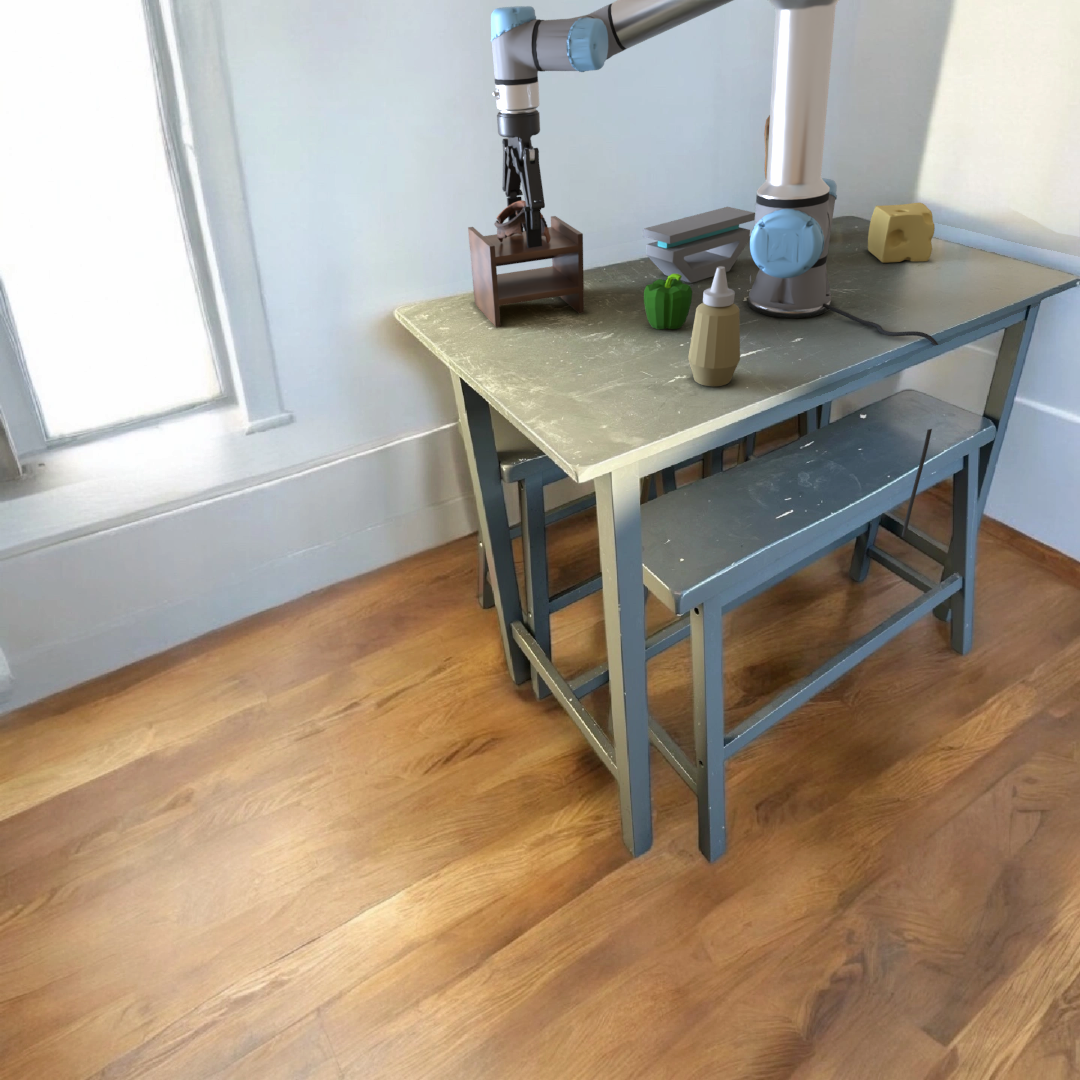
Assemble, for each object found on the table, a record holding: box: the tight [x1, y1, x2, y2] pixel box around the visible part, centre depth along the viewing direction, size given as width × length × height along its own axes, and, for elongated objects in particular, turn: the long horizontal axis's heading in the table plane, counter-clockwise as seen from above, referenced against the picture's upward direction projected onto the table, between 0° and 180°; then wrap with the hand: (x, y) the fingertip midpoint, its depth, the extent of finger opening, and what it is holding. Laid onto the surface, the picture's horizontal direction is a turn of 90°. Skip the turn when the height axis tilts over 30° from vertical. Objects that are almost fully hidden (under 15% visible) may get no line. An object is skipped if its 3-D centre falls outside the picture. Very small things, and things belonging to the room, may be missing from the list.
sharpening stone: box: [642, 206, 756, 284], centre depth 180 cm, size 25×8×11 cm, turn 127°
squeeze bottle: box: [687, 266, 741, 387], centre depth 132 cm, size 8×8×18 cm
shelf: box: [467, 215, 585, 328], centre depth 165 cm, size 15×18×15 cm
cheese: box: [867, 202, 936, 264], centre depth 184 cm, size 10×11×10 cm
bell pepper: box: [643, 273, 693, 330], centre depth 155 cm, size 8×8×10 cm
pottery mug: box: [493, 199, 551, 243], centre depth 161 cm, size 12×10×8 cm
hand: (525, 239), depth 162 cm, fingers closed on pottery mug, 10 cm apart
